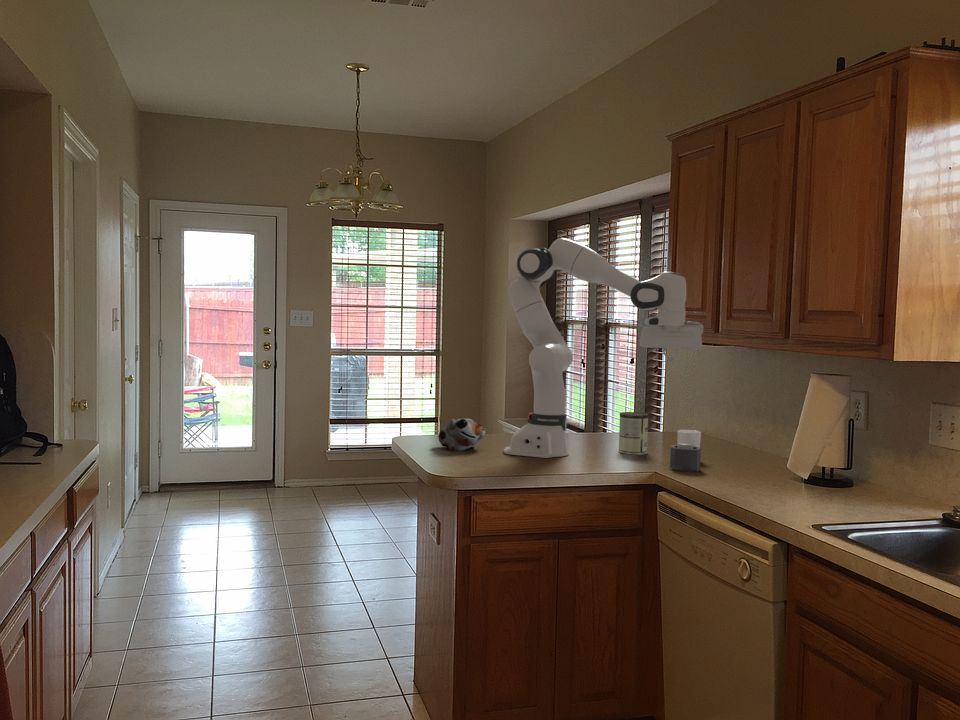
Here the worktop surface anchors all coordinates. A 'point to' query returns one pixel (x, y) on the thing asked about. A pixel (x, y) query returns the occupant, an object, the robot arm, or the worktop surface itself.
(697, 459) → the dark grey cylinder
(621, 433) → the coffee can
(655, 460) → the worktop surface
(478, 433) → the lucky cat figurine
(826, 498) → the worktop surface
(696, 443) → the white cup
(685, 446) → the cap
